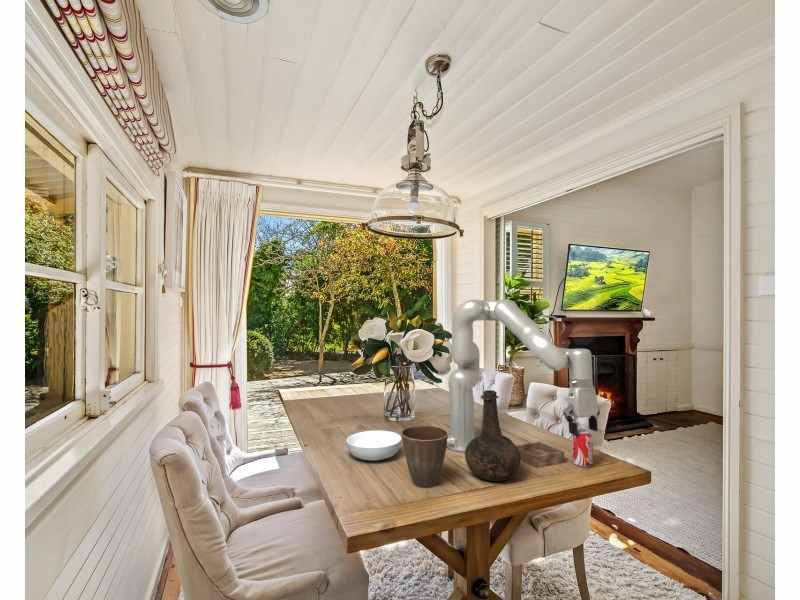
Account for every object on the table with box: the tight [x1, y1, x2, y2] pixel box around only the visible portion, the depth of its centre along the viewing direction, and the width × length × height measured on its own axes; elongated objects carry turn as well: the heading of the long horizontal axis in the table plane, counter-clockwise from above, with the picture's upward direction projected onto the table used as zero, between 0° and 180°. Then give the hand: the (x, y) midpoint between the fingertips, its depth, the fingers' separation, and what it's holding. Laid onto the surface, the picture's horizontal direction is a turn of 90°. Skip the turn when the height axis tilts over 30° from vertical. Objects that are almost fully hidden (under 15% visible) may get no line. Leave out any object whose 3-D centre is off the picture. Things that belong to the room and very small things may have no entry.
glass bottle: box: [464, 389, 522, 482], centre depth 131 cm, size 18×18×28 cm
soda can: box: [570, 427, 594, 468], centre depth 140 cm, size 7×7×12 cm
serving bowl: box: [346, 430, 403, 462], centre depth 149 cm, size 21×21×7 cm
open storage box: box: [515, 441, 568, 469], centre depth 146 cm, size 14×14×4 cm
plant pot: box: [401, 425, 449, 489], centre depth 126 cm, size 15×15×16 cm
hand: (583, 431), depth 140 cm, fingers open, 9 cm apart
